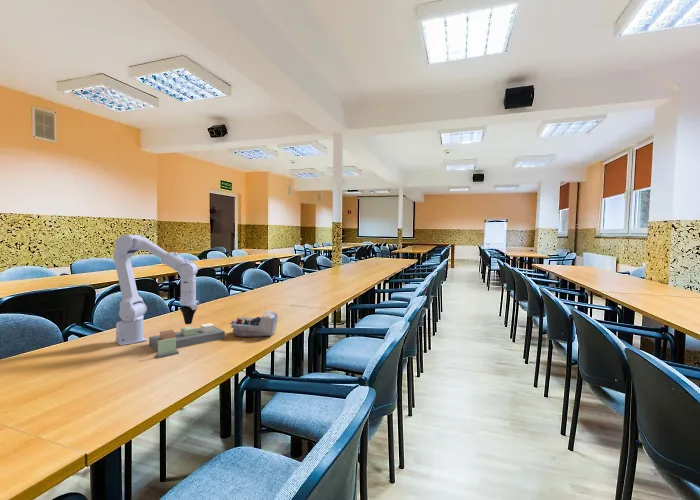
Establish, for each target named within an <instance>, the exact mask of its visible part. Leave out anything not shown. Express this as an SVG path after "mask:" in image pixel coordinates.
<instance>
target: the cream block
mask: <svg viewBox="0 0 700 500" xmlns="http://www.w3.org/2000/svg"><path fill="white" fill-rule="evenodd" d="M215 327H216V326H215V324H213V323H211V322H209V323H203V324H200V325H199V328H200V331H201V332H203V333H207V332H212V331H215Z"/></svg>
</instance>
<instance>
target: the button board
mask: <svg viewBox="0 0 700 500" xmlns="http://www.w3.org/2000/svg"><path fill="white" fill-rule="evenodd" d="M174 332H175V338H176V349H179V348H185V347H189V346H194V345H198V344H199V345H200V344H204V343H210V342H213V341H214V342H215V341H219V340H223V339H225V338H226V331H225V330H222V329H220V328H218V327H216V326H215V331H212V332H207V333H203V332H201V331H200V327H198V328H196V335H191V336H186V337H184V336H182V335H181V330H180V331H174ZM148 340H149V342H148V343H149V344H148V345H149V346H150V347H152V348H153V349H154V350H155V351H156V352H158V341H160V340H162V339H161V338H160V334H159V335H152V336H149V338H148Z"/></svg>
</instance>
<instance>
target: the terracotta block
mask: <svg viewBox="0 0 700 500" xmlns="http://www.w3.org/2000/svg"><path fill="white" fill-rule="evenodd" d="M175 332H176V331H175V330H173V329H169V330H162V331H159V335H160V338H161V339H162V340H166V339H171V338H175Z"/></svg>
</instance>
